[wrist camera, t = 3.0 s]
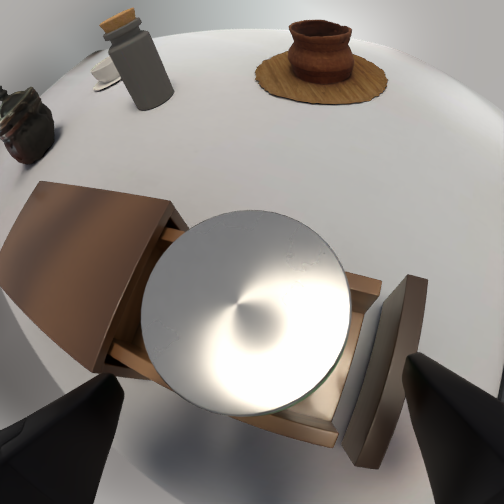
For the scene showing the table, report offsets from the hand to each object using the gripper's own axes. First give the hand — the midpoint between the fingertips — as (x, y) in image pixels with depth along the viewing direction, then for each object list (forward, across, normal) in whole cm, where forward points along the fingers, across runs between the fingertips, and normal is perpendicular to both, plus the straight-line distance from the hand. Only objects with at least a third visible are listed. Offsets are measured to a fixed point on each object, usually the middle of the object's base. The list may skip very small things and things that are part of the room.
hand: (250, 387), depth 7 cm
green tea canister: (+7, 0, +4) cm, 8 cm away
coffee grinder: (+31, +38, -17) cm, 52 cm away
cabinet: (+13, +15, +1) cm, 20 cm away
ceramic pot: (+32, -9, -17) cm, 37 cm away
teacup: (+45, +28, -31) cm, 61 cm away
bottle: (+32, +14, -18) cm, 40 cm away
